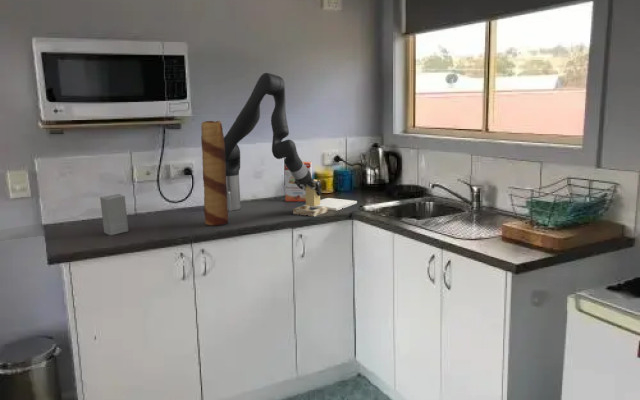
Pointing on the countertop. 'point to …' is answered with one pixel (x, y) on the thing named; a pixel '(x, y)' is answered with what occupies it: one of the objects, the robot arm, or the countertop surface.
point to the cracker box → (295, 186)
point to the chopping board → (334, 203)
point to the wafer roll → (214, 173)
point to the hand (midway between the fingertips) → (314, 193)
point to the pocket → (306, 210)
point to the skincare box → (114, 214)
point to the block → (312, 197)
